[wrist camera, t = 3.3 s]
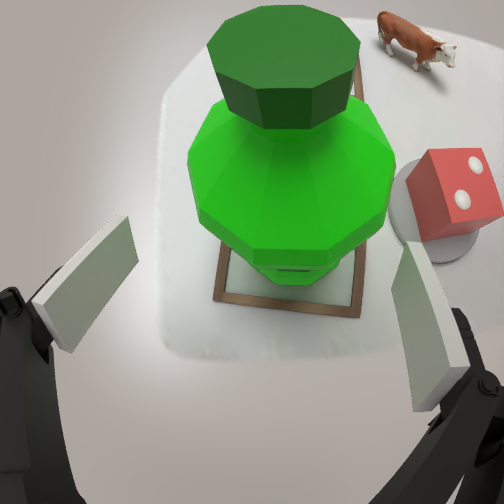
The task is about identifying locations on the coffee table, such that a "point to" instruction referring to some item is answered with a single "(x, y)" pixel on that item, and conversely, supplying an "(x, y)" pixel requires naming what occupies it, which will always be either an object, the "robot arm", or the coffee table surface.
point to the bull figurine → (414, 41)
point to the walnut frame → (295, 305)
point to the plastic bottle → (289, 145)
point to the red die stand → (444, 201)
